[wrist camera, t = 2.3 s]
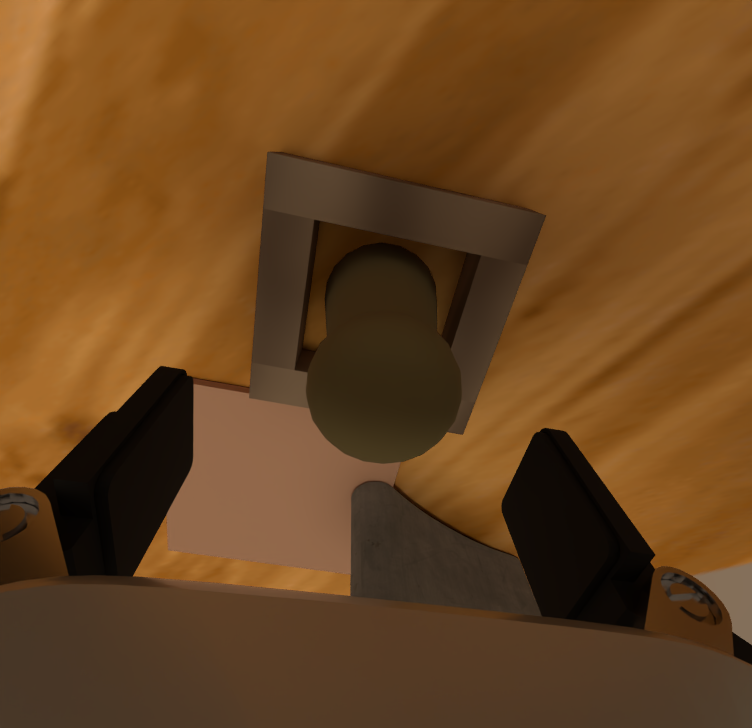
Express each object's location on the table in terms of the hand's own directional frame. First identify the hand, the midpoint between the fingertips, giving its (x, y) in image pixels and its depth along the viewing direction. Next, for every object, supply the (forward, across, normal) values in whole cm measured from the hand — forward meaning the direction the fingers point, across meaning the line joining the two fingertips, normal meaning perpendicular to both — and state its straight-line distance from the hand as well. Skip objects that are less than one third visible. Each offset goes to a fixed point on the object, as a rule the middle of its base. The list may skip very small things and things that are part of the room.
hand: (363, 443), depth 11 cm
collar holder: (+12, -1, 0) cm, 12 cm away
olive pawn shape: (+12, -1, 0) cm, 12 cm away
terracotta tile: (+12, +3, +14) cm, 19 cm away
